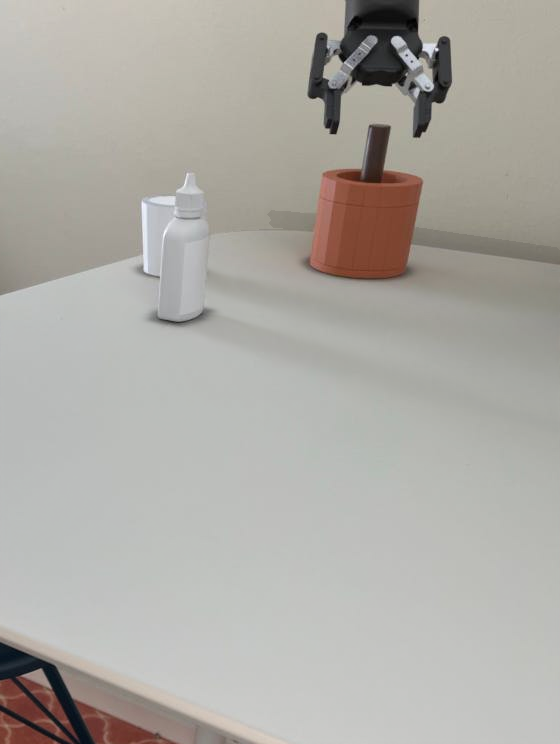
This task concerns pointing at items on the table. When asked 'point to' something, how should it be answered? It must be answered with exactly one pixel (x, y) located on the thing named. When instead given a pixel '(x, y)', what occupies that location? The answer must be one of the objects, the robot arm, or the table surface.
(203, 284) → the eye dropper bottle
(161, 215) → the white cup
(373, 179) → the brush
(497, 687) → the table surface
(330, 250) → the jar
